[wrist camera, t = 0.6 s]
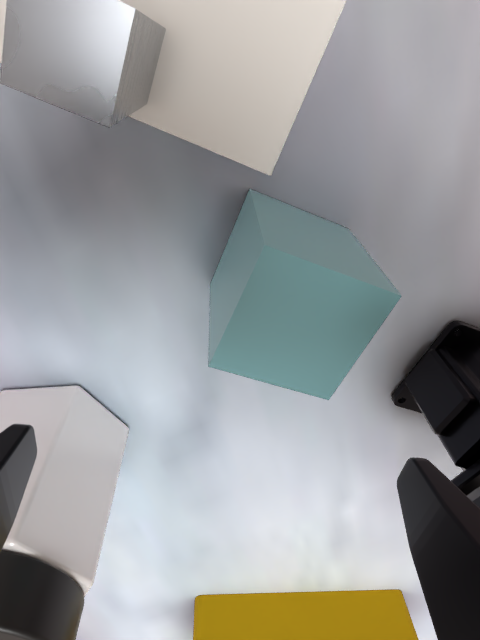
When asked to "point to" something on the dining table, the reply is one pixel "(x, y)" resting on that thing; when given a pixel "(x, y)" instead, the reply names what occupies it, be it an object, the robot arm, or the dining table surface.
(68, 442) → the jar
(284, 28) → the board
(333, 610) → the yellow pink arched block
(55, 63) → the grey post
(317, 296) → the teal block
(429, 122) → the dining table surface
